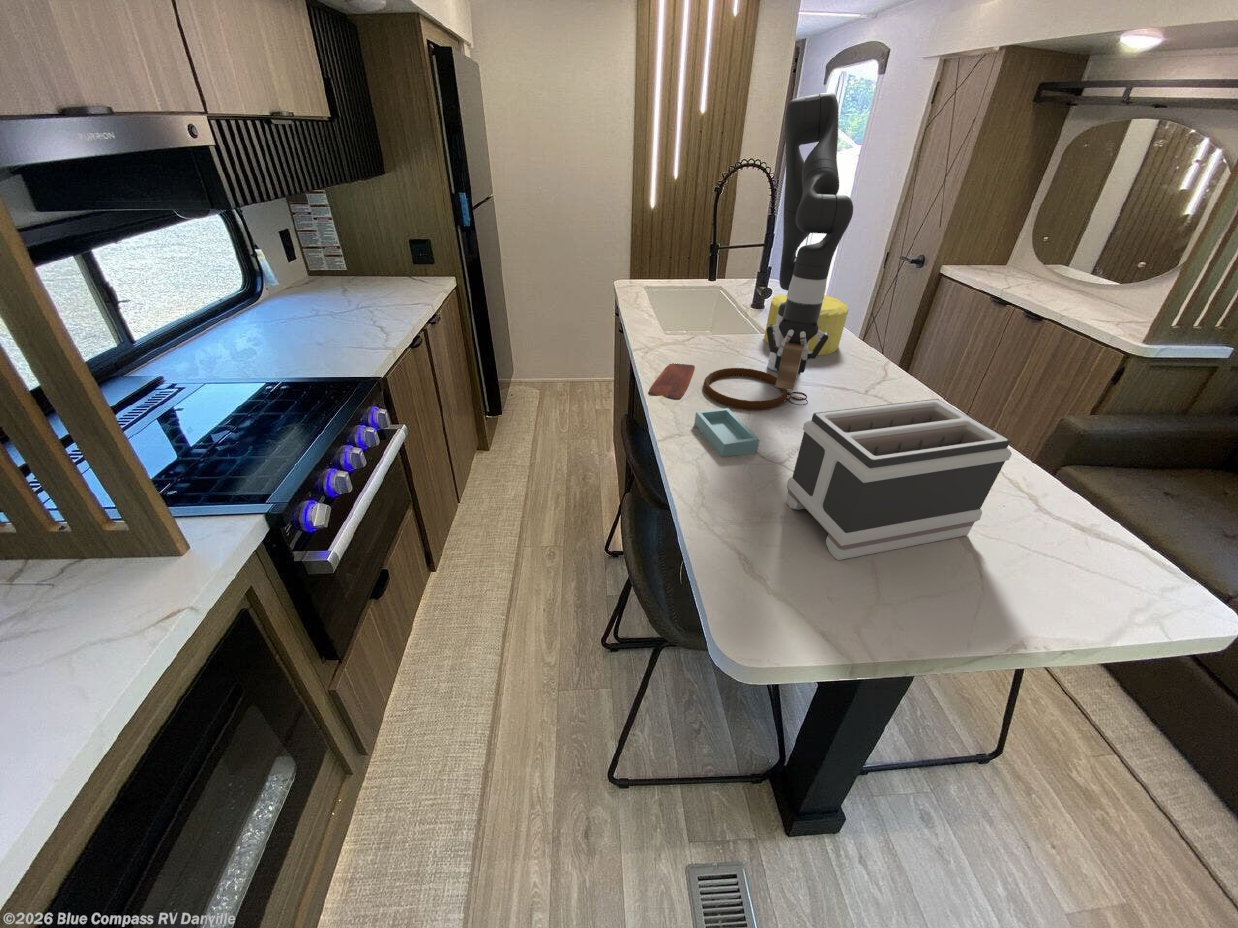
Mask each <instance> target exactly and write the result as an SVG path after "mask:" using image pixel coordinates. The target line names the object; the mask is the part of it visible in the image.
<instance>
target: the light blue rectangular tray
mask: <svg viewBox="0 0 1238 928" xmlns="http://www.w3.org/2000/svg"><path fill="white" fill-rule="evenodd" d="M694 416H695V417H694V425H695V426H696V427H697V429H698V430H699V432H701V433H702V435H703V436H704V437H705V438H706V439H707V440H708V442H709V443H710V445H711V446H712V447H713V448H714V449H715V451H716V452H717V453H718V454H719V456H721V458H726V457H733V456H734V457H735V456H740V455H746V454H747V455H748V454H754V453H757V452H758V447H759V444H760V443H759V442H760V439H759V437H758V436H756V434H754V433H753V431H751V430H750V429H749V427H747V425H745V424H744V423H743V422H742V420H740V418H738V416H737V415H736V414H734V412H733V411H731V409H730V408H729V407H725V408H719V409H718V408H716V409H710V410H709V409H708V410H699V411H698V410H697V411H695V415H694Z"/></svg>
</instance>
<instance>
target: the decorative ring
mask: <svg viewBox="0 0 1238 928" xmlns="http://www.w3.org/2000/svg"><path fill="white" fill-rule="evenodd" d="M729 377H744V378H751V379H754V380H755V379H756V380H760V381H763V382H765V383H768V384H770V385H772V384H773V385H772V386H774V385H776V380H777V376H775V375H773V374H771V373H768V372H765V371H762V370H758V369H754V368H747V367H746V368H745V367H731V368H721V369H717V370H715V371H713V372H710V373H709V374H708V375H707V376H706V377H705V378H704V381H703V385H702V386H703V389H704V392H705V394H706V395H707V397H709V398H710V399H711V400H713V401H715V402H716V403H718V404H721V405H723V406H725V407H728V408H729V407H730V408H733V409H734V408H735V409H738V410H745V411H746V410H747V411H764V410H771V409H774V408H778V407H779V406H780V405H782V404H784V403H785V401H788V403H791V404H792V405H794V406H795V405H796V406H806V405H808V403H809V400H807V398H808V395H807V394H806V393H804V392H801V391H792V392H791V391H789V389H784V388H778V387H776V389H778V391H779V392H780V393H781V395H780V396H778V397H775V398H770V399H767V400H746V399H739V398H735V397H731V396H727V395H724V394H722V393H720V392H719V391H716V390H715V389H714V388H713V387H712V386H711V385H710V384H711V382H713V381H715V380H718V379H722V378H729ZM793 394H795V395H796V394H798V395H802V396H803V397H800V396H792V395H793ZM788 396H789V397H788ZM791 399H792V400H795V401H806V403H804V404H803V403H802V404H799V403H794V402H792V401H791Z"/></svg>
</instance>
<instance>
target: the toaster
mask: <svg viewBox="0 0 1238 928" xmlns="http://www.w3.org/2000/svg"><path fill="white" fill-rule="evenodd" d="M802 430H803V435H802V439H801V442H800V446H799V449H798V450H799V451H798V454H797V458H796V462H795V466H794V470H793V473H792V477H789V478H788V480H787V482H786V485H785V486H786V488H787V494H786V498H785V502H786V504H787V505H788V507H789V508H790V509H791V510H797V511H799V510H806V511H807V512H808V513H809V514H810V515H811V517H813V518H814V520H815V521H817V523H818V524H819V525H820V526H821V527H822V528H823V530H825V531H826V532H827V536H826V540H825V544H826V546H827V549H828V552H829V553H830V554H831V555H832V557H833V558H834V559H836V560H837V561H842V560H846V559H852V558H857V557H862V556H867V555H872V554H877V553H882V552H888V551H893V550H897V549H898V550H899V549H903V548H904V549H905V548H908V547H914V546H919V545H924V544H929V543H934V542H939V541H945V540H949V539H950V540H951V539H955V538H961V537H966V536H968V535H969V533H970V532H971V530H972V528H973V526H974V524H975V522H978V521H980V520H981V518H982V515H983V510H982V509H981V508H982V506H983V504H984V503H985V501H986V499H987V497H988V495H989V493H990V491H991V490H992V487H993V485H994V484H995V481H996V480H997V478H998V476H999V475H1000V473H1001V470H1002V468H1003V467H1004V464H1005V463H1006V461H1009V460H1010V458H1011V456H1012V451H1011V450H1010V449H1009V448H1008V447H1009V445H1010V443H1011V439H1009V438H1007V437H1006V436H1004V435H1002V434H1000V433H998V432H997V431H995V430H993V429H991V428H990V427H988V426H986V425H984V424H983V423H981V422H979V421H978V420H976V419H974V418H972V417H971V416H968V415H967V414H965V413H964V412H961V411H960V410H959V409H956V408H955V407H953V406H951V405H949V404H948V403H946V402H944V401H942V400H940V399H939V398H934V399H933V398H931V399H926V400H925V399H923V400H915V401H909V402H908V401H907V402H898V403H889V404H888V403H887V404H882V405H881V404H880V405H873V406H863V407H854V408H846V409H839V410H829V411H820V412H813V414H812V416H811V420H807V421H805V422H804V423H803V427H802Z"/></svg>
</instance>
